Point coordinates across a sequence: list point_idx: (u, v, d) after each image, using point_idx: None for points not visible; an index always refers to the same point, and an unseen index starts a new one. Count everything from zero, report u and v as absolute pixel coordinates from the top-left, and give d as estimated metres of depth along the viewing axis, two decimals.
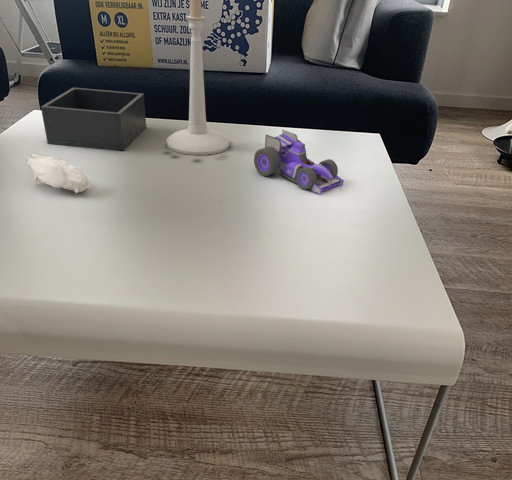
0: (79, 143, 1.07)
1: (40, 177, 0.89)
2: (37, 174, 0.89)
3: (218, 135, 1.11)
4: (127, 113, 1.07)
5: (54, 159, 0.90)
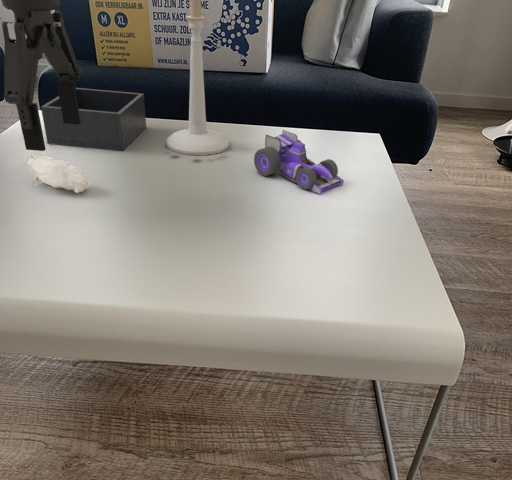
0: (79, 143, 1.07)
1: (40, 177, 0.89)
2: (37, 174, 0.89)
3: (218, 135, 1.11)
4: (127, 113, 1.07)
5: (54, 159, 0.90)
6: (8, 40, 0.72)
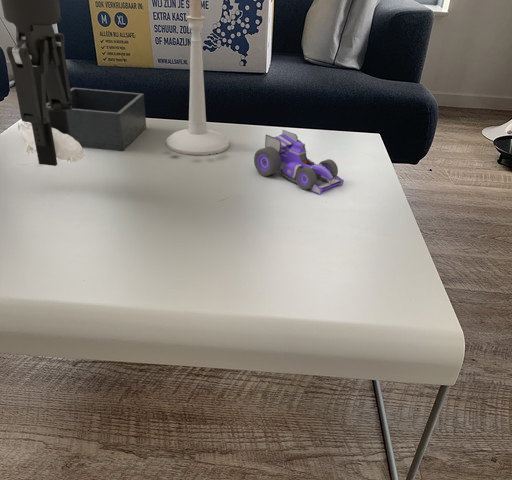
0: None
1: (33, 146, 0.86)
2: (30, 143, 0.86)
3: (218, 135, 1.11)
4: (127, 113, 1.07)
5: None
6: (15, 65, 0.75)
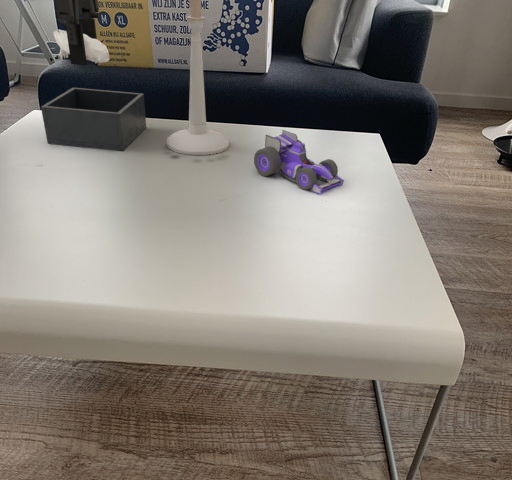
0: (79, 143, 1.07)
1: (66, 48, 0.99)
2: (63, 45, 0.99)
3: (218, 135, 1.11)
4: (127, 113, 1.07)
5: None
6: None
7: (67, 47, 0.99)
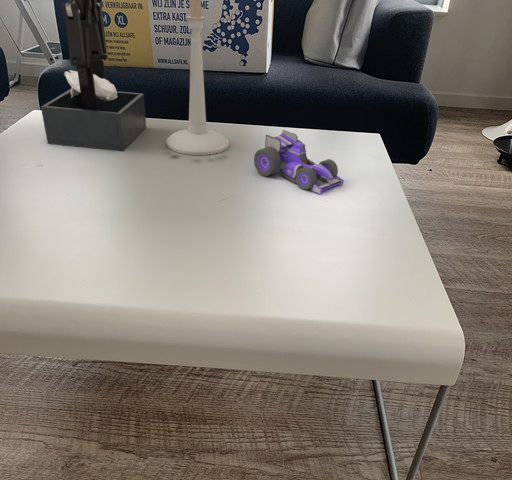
0: (79, 143, 1.07)
1: (77, 88, 1.07)
2: (74, 85, 1.07)
3: (218, 135, 1.11)
4: (127, 113, 1.07)
5: None
6: (67, 18, 0.96)
7: (78, 87, 1.07)
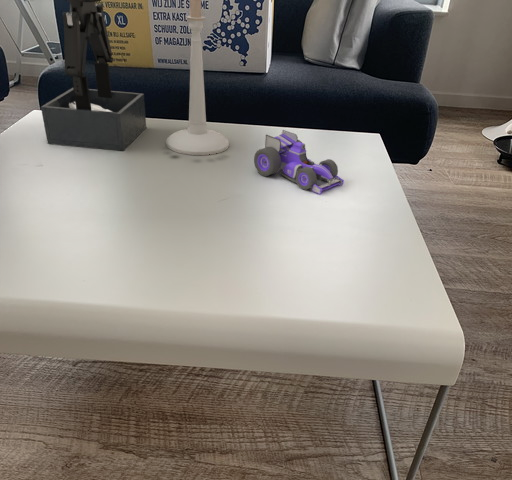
0: (79, 143, 1.07)
1: None
2: None
3: (218, 135, 1.11)
4: (127, 113, 1.07)
5: (92, 105, 1.12)
6: (67, 27, 0.96)
7: None
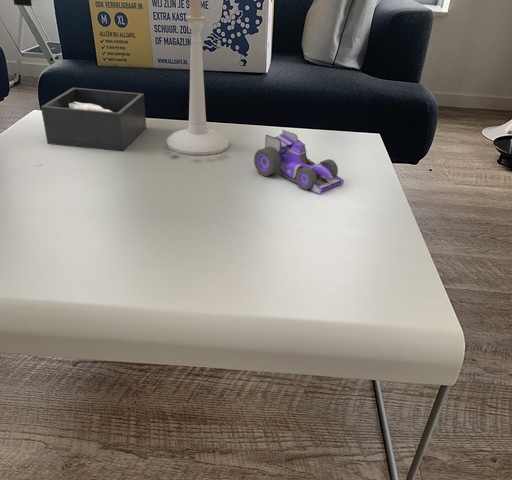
0: (79, 143, 1.07)
1: None
2: None
3: (218, 135, 1.11)
4: (127, 113, 1.07)
5: (92, 105, 1.12)
6: None
7: None
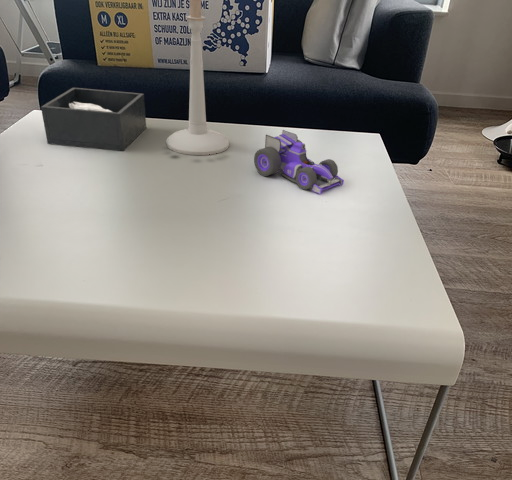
0: (79, 143, 1.07)
1: None
2: None
3: (218, 135, 1.11)
4: (127, 113, 1.07)
5: (92, 105, 1.12)
6: None
7: None
